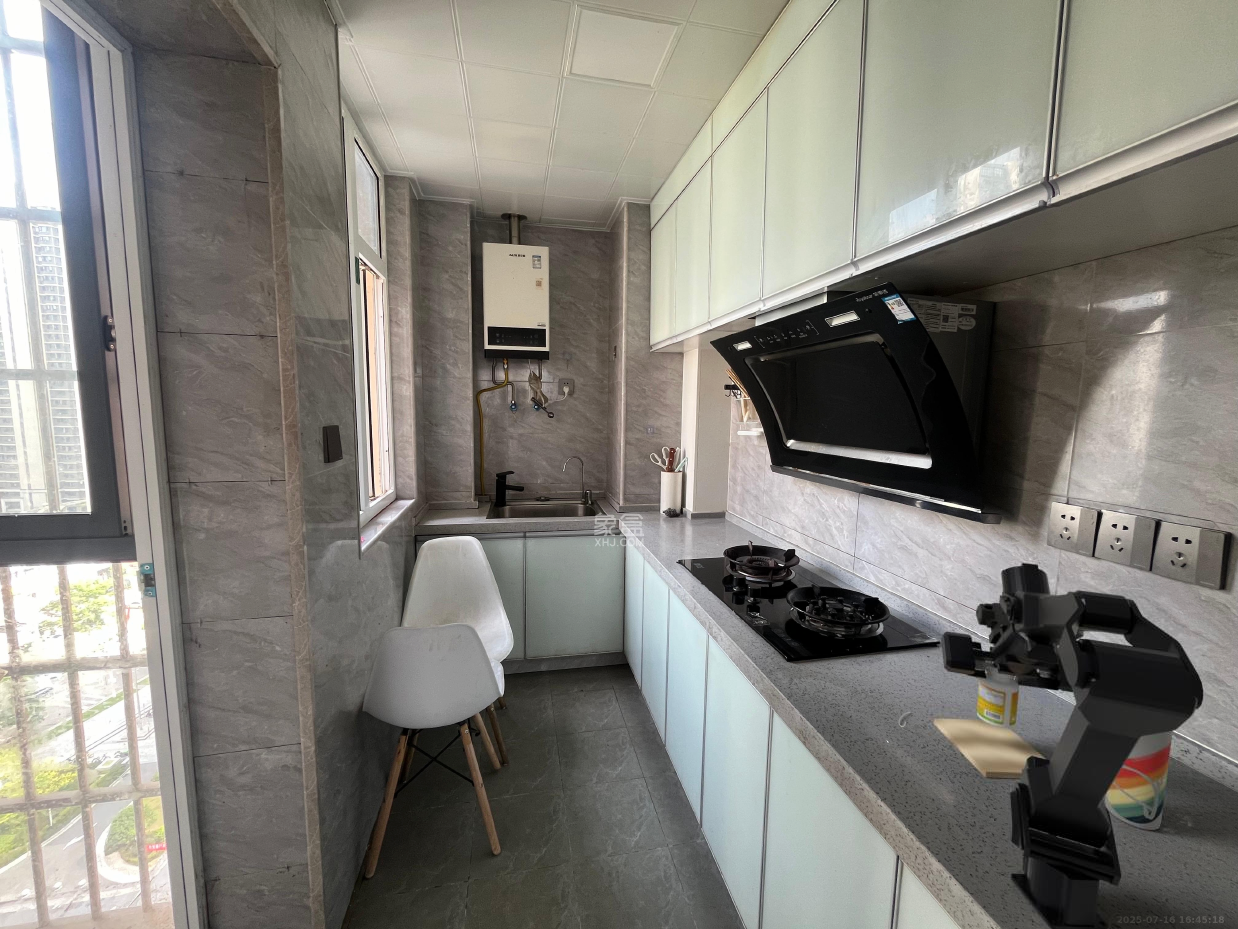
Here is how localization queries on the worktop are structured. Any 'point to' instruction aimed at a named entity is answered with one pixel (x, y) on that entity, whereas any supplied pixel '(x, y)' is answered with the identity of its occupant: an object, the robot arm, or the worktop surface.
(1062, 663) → the robot arm
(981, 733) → the oak board
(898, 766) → the worktop surface
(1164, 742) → the lotion bottle
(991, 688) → the supplement bottle
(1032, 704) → the worktop surface
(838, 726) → the worktop surface
